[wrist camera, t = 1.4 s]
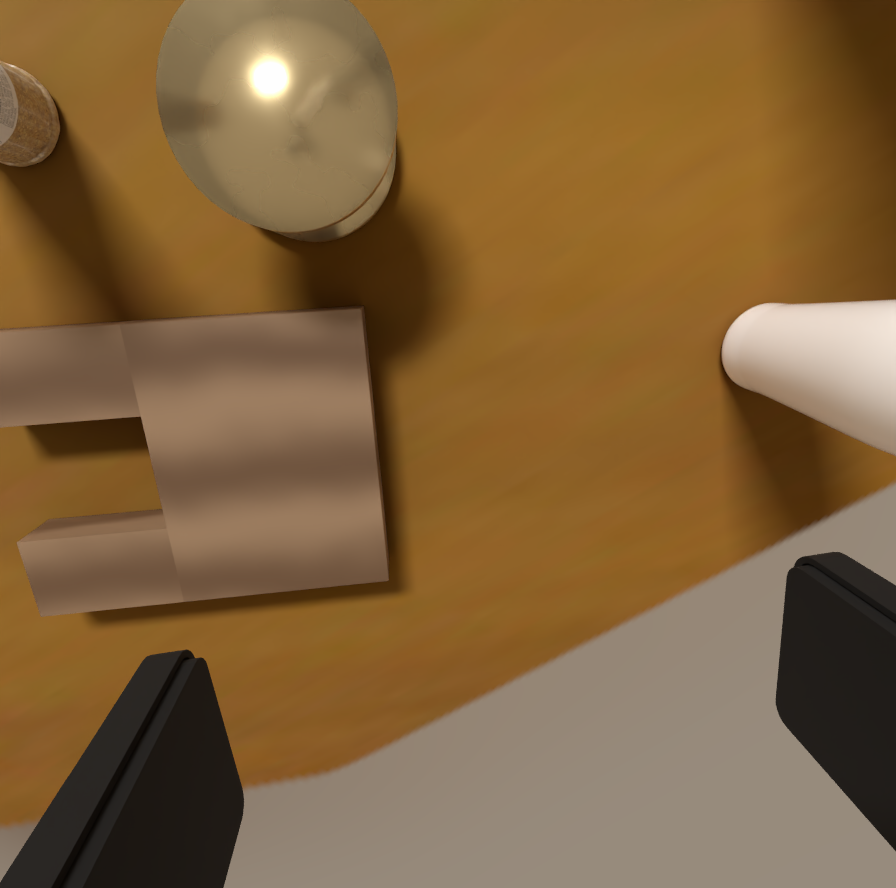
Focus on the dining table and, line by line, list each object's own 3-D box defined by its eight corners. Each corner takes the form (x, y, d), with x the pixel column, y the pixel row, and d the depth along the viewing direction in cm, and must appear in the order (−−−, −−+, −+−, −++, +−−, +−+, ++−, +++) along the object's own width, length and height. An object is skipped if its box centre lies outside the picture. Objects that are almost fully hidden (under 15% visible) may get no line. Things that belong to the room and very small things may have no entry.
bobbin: (204, 52, 27) (131, -34, 20) (387, 47, 28) (386, -38, 20) (236, 246, 30) (182, 237, 22) (402, 237, 31) (406, 225, 23)
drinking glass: (749, 420, 36) (986, 517, 22) (683, 352, 34) (894, 409, 20) (830, 340, 35) (1135, 387, 21) (766, 265, 33) (1052, 260, 19)
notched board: (-9, 329, 30) (-51, 335, 27) (363, 305, 31) (361, 308, 29) (69, 588, 35) (40, 616, 32) (389, 556, 36) (388, 580, 33)
